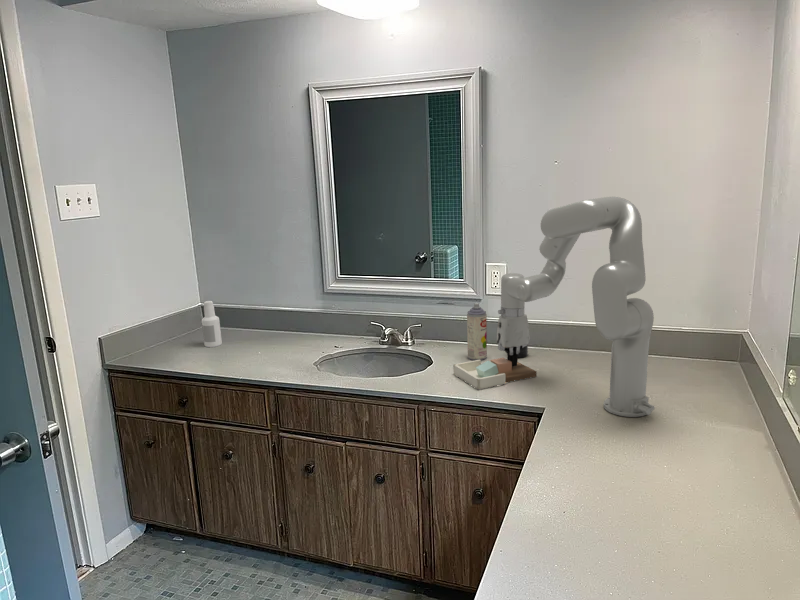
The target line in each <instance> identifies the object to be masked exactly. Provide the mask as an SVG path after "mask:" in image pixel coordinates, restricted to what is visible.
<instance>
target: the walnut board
mask: <svg viewBox="0 0 800 600" xmlns="http://www.w3.org/2000/svg"><path fill="white" fill-rule="evenodd" d="M503 373H505V382H508V383H511V382H510V381H513V382H515V381H514V380H518V381H521V380H520V379H523V380H526V379H525V378H528V379H531V378H530V377H532V378H536V377H537V371H536V370H534V369H532V368H531V367H529V366H527V365H525V364H523V363H521V362H519V361H518V362H517V366H512V371H507V372H502V373H497V374H496V375H498V374H503Z"/></svg>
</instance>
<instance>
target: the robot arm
mask: <svg viewBox="0 0 800 600" xmlns="http://www.w3.org/2000/svg"><path fill="white" fill-rule="evenodd" d="M605 229H609V230H611V235H610V237H609V242H608V243H609V245H608V251H609V263H605V264H603V265H602V266H600V267H598V269H597V270H596V271H595V272H594V275H593V277H592V281H591V291H592V292H591V294H592V304H593V313H594V321H595V327H596V330H597V331H598V333H599V334H600V336H601V337H602V338H604V339H606V340H607V341H612V345H611V352H610V353H611V354H610V355H611V357H610V376H609V380H610V381H609V397H608V398H607V397H606V398H605V400H603V408H604V410H606V412H609V413H611V414H613V415H616V416H620V417H627V418H639V417H645V416H649V415H651V413H652V411H654V410H655V408H656V407H655V405H653V404H650V403H649V396H647V380H648V379H647V378H648V363H649V349H650V340H651V334H652V331H653V330H652V329H653V326H654V319H655V317H654V315H655V314H654V311H653V308H652V306H651V305H650V304H649V303H648V302H647V301H646V300H644V299H642V298H639V297H638V298H637V297H629V298H628V297H627V296H630V295H633V294H637V292H639V291H641V290H642V289H643V288H644V287H645V285H646V266H645V265H646V264H645V255H644V254H645V253H644V246H643V245H644V244H643V223H642V218H641V214H640V212H639V209H638V208H637V206H636V205H635V204H634V203H633V202H631V201H629V200H628V199H626V198H623V197H619V196H606V197H605V196H604V197H598V198H590V199H585V200H580V201H577V202H573V203H571V204H566V205H563V206H560V207H555V208H551V209H549V210H547V211H546V212H545V213H544V214H543V216H542V217H541V220H540V231H541V232H542V235H544V238H543V239H542V241H541V243H540V245H539V249H538V250H539V252H540V254H541V256H542V257H543V258H544V259H546V262H545V265H544V267H543V268H542V270H541V272H540V273H539V274H535V275H531V276H527V277H525V276H524V275H523V274H520V273H514V272H513V273H512V272H510V273H505V274H503V275H502V276H501V280H500V309H499V310H498V311H497V313H498V315H499V317H498V322H497V330H496V344H497V350H499V351H501V352H502V351H503V352H505V353H506V356H507V357H506V359H507V360H509V361H511V362H512V366H517V362H519V361H518V360H519V358H518V354H519V351H520V350H521V348H522V347H525V346H527V344H528V345H529V343H530V326H529V319H528V316H527V314H525V303H529V302H533V301H537V300H540V299H543V298H547V297H549V296H552V294H553V293H554V292H555V291H556V290H557V289H558V287H559V285H560V284H561V282H562V280H563V279H564V276H565V274H566V268H567V267H566V266H567V262H566V259H567V258H568V256H569V254H570V252H571V251H572V249H573V247H574V245H575V244H576V242H577V241H578V239H579V237H580V236H581V235H582V234H585V233H590V232H596V231H601V230H602V231H603V230H605Z"/></svg>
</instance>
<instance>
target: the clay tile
mask: <svg viewBox="0 0 800 600" xmlns="http://www.w3.org/2000/svg"><path fill="white" fill-rule="evenodd" d="M490 362H492V363H494V364H496V366H497V369H498V372H499V373H502V372H507V371H512V362H511V361H509V360H507V358H505V357H500V358H494V359H490Z"/></svg>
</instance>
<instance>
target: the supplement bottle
mask: <svg viewBox="0 0 800 600" xmlns="http://www.w3.org/2000/svg"><path fill="white" fill-rule="evenodd" d="M528 345H529V343H528V344H527V346H525V347H522V348H521V350H520V351H519V354H518V359H522V358H523V359H524V358H526V357H527V356H528V355H529V350H528V349H529V347H528Z"/></svg>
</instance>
